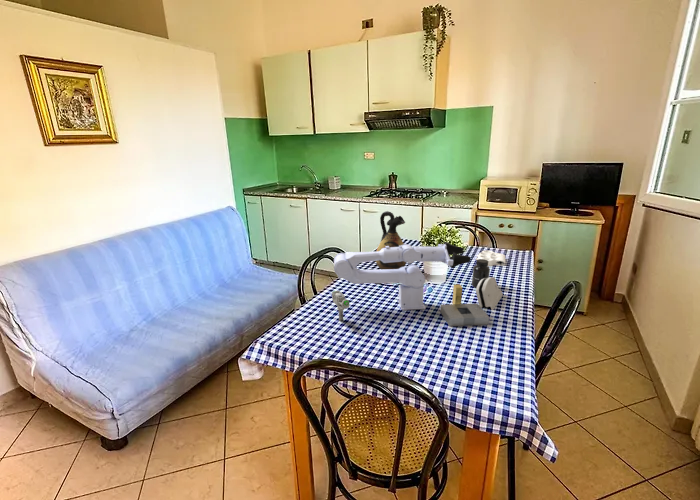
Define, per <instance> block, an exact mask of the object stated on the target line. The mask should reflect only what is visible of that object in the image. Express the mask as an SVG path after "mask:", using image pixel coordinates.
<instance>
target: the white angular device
mask: <svg viewBox="0 0 700 500" xmlns="http://www.w3.org/2000/svg"><path fill="white" fill-rule="evenodd" d="M475 292H476V298H477V302H478V305H479V306H480V307H481V308H483V307H485V308H489V307H490V309H491V311H493V310H494V309H495V307H497V304H498V303H499V302H500V300H501V299H502V297H504V293H503V291H502V290H500V289H499V286H498V283H497V279H496V278H495V277H493V276H492V277H491V276H489V278H484V279H482V280H480V282H479V283H478V285H477V288H475Z"/></svg>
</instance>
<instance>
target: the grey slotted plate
mask: <svg viewBox="0 0 700 500" xmlns="http://www.w3.org/2000/svg"><path fill="white" fill-rule="evenodd" d="M440 314H441V315H442V317H443V318H444V320H445V322H446V324H448V327H466V326H489V321H490V316H489V315H488V314H487V312H486V311H484V309H483V307H480V306H479V303H461V304H453V303H452V304H450V303H449V304H448V303H447V304H440Z"/></svg>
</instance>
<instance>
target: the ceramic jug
mask: <svg viewBox="0 0 700 500" xmlns="http://www.w3.org/2000/svg"><path fill="white" fill-rule="evenodd" d="M379 217H380V219H379V222H380V226H381V230H382V236H381V239H380V242H379V244H378V246H377V248H376V250H375V252H377V251H380V250H381V249H382V248H386V246H389V247H399V246H401V245H403V244H405V243H404V241H403V240H402V238H401V237H400V235H399V234H398V232H397V227H398V226H400V225H405V223H406V221H405V220H404V218H403V217H402V216H401V215H399V216H397V215H396V216H395V214H394V213H393V212H392V211H388V210H387V211H384V212H382V213H381V214H380V216H379ZM385 217H389V219H388V220H387V222H386V223H385ZM386 225H387V226H388V230H387V227H386ZM375 264H376V266H377V267H378V268H379V270H380V269H399V268H401V267H406V266H407V265H406V264H407V262H404V261H401V262H390V263H383V262H382V261H381V260H377V261H375Z"/></svg>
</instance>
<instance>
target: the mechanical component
mask: <svg viewBox="0 0 700 500" xmlns="http://www.w3.org/2000/svg"><path fill="white" fill-rule="evenodd" d="M331 297H332V298H331V299H332V302H333V303H334V304H335V305H336V306H337V311H338V321H339V322H341V321H344V310H345V309H349V308H350V300H348V299H346V298H345V294H343V292H341V291H340V290H333V291H332V292H331Z"/></svg>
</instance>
